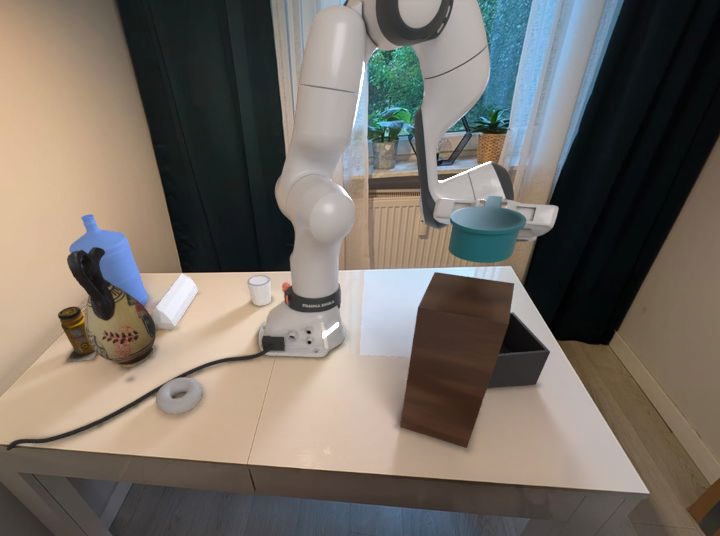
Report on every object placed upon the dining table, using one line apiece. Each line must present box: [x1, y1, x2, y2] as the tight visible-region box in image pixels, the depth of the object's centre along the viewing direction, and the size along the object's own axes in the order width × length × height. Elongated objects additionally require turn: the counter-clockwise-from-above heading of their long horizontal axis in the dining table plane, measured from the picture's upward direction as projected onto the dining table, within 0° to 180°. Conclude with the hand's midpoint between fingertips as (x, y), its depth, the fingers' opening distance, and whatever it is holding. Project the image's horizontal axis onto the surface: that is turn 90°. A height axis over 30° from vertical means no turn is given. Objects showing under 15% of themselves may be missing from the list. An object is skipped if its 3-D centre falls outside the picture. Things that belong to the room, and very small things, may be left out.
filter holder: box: [448, 196, 526, 264], centre depth 60 cm, size 20×10×5 cm, turn 152°
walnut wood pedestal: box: [399, 271, 515, 449], centre depth 66 cm, size 12×12×27 cm
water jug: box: [68, 213, 149, 307], centre depth 110 cm, size 16×16×28 cm
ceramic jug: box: [66, 247, 157, 369], centre depth 88 cm, size 17×15×30 cm
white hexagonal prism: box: [150, 273, 199, 330], centre depth 112 cm, size 7×7×24 cm
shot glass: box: [246, 274, 272, 307], centre depth 112 cm, size 7×7×7 cm
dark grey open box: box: [487, 311, 551, 390], centre depth 81 cm, size 14×14×9 cm
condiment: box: [57, 306, 98, 362], centre depth 97 cm, size 7×8×12 cm
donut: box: [155, 377, 203, 415], centre depth 82 cm, size 10×4×10 cm
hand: (492, 205), depth 64 cm, fingers closed on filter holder, 2 cm apart
